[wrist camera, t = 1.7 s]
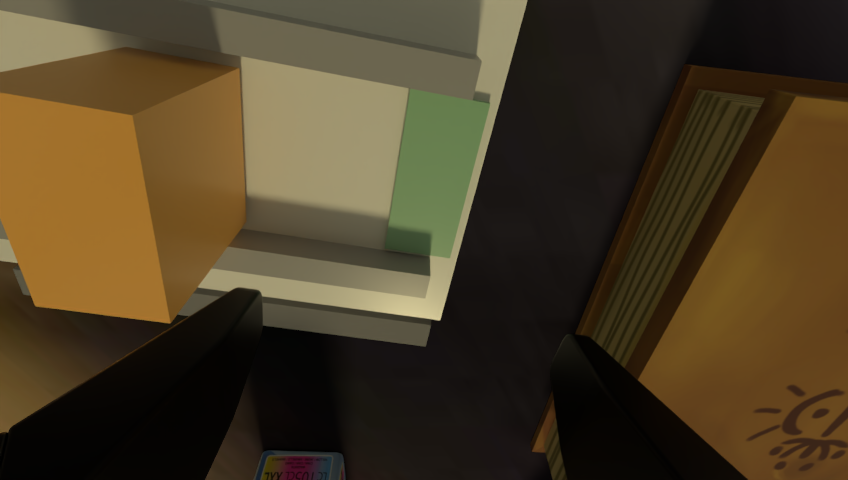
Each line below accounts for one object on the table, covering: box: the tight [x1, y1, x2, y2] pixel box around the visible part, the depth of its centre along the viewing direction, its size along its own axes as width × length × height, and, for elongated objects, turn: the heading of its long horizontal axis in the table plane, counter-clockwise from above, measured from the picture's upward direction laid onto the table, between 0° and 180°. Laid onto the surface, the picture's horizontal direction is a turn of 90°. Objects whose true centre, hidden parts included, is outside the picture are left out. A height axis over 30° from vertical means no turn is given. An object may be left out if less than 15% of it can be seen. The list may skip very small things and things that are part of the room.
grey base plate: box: [13, 265, 431, 346], centre depth 15 cm, size 18×18×1 cm
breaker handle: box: [0, 47, 246, 323], centre depth 11 cm, size 3×5×5 cm, turn 170°
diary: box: [530, 64, 848, 480], centre depth 19 cm, size 23×19×6 cm
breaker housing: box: [0, 0, 527, 320], centre depth 14 cm, size 18×12×4 cm, turn 80°
